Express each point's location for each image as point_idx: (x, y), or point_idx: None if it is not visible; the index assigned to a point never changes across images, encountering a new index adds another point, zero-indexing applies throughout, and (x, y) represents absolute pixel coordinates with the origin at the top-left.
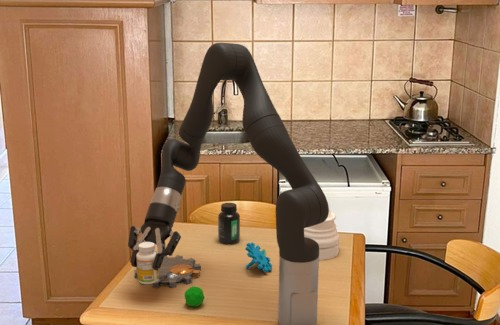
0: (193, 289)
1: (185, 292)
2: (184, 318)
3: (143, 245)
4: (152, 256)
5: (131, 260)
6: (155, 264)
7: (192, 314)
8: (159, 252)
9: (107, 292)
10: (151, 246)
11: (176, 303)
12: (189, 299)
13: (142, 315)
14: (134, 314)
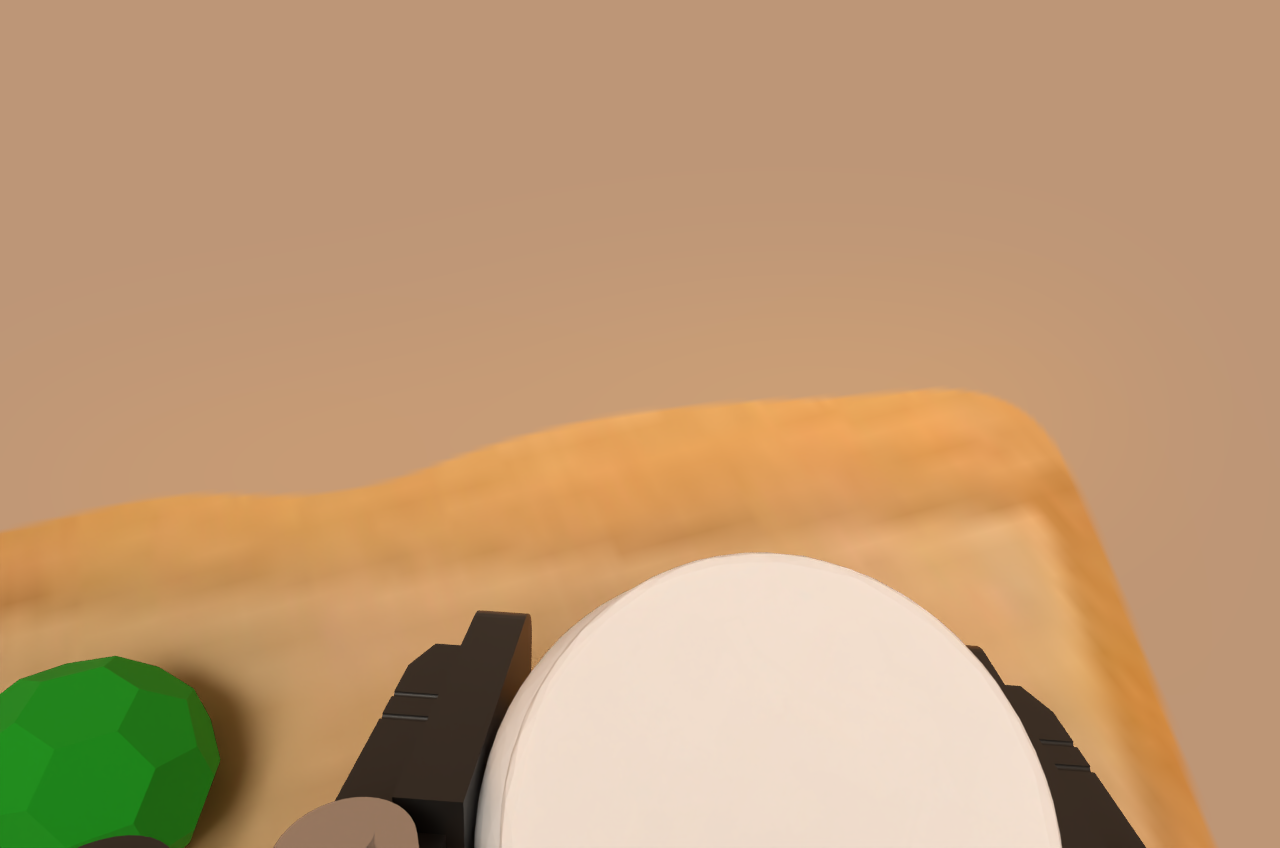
0: (14, 723)
1: (164, 747)
2: (219, 510)
3: (844, 715)
4: (533, 675)
5: (1026, 715)
6: (468, 633)
7: (153, 593)
8: (367, 824)
9: (1180, 809)
10: (543, 695)
11: (346, 768)
12: (127, 660)
13: (592, 465)
14: (666, 463)
